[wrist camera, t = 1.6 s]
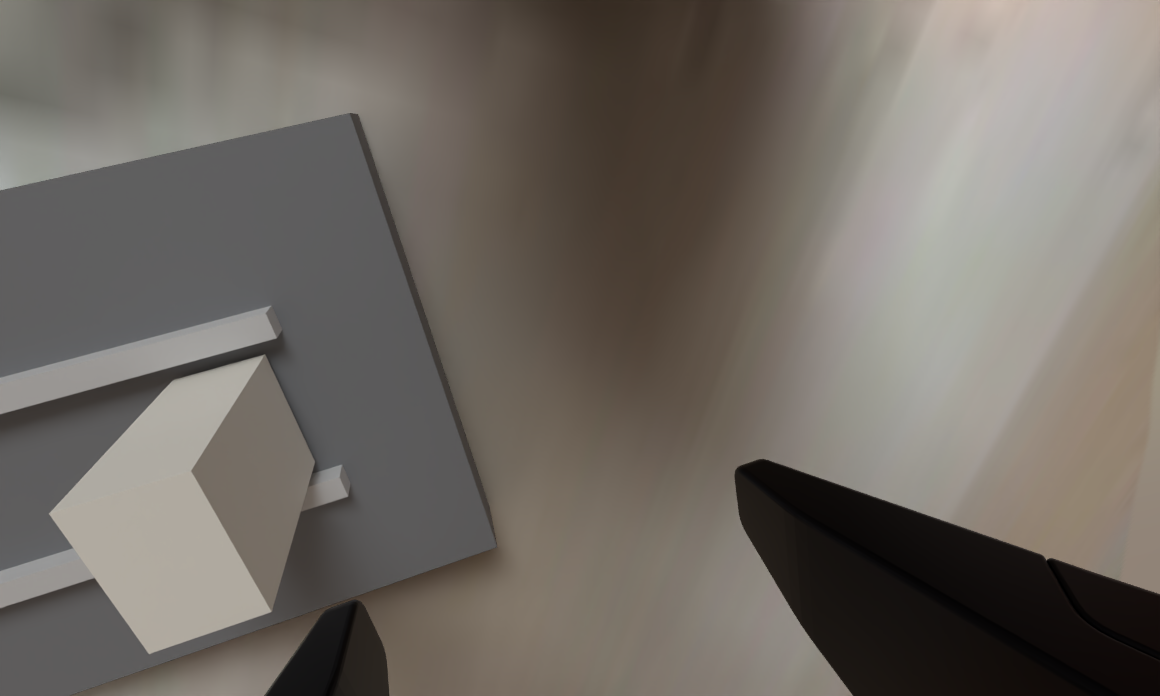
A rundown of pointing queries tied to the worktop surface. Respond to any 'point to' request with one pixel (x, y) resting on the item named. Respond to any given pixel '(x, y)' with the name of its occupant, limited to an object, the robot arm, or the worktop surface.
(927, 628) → the robot arm
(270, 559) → the slider paddle
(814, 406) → the worktop surface
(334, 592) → the panel
